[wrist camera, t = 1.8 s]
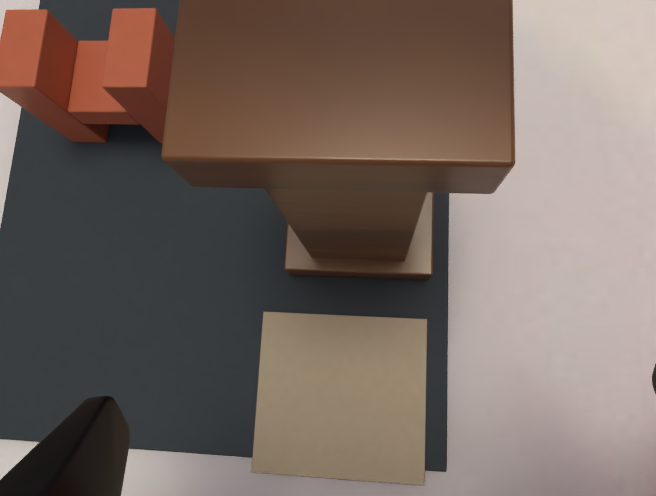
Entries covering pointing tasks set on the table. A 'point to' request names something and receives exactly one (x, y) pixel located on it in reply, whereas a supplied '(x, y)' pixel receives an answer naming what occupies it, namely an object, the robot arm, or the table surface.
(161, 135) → the letter H
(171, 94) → the letter I
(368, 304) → the word mat
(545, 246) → the table surface
